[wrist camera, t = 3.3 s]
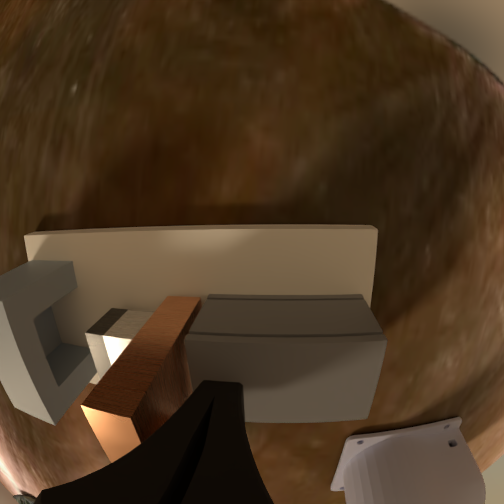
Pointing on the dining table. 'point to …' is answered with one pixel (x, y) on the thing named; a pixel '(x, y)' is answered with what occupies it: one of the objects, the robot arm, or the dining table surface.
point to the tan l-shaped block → (138, 372)
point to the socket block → (39, 341)
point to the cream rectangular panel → (242, 306)
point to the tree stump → (24, 499)
